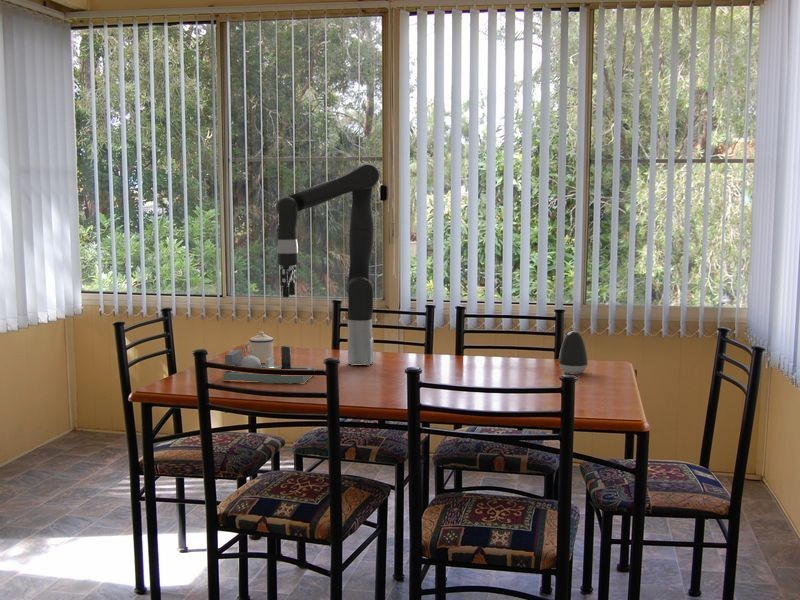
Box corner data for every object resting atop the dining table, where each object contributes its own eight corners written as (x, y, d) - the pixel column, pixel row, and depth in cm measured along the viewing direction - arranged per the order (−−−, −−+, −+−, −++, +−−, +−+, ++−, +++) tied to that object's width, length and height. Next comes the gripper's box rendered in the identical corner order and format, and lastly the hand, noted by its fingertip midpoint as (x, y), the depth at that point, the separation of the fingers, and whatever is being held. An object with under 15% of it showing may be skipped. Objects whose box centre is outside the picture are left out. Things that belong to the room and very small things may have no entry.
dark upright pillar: (293, 376, 291) (292, 345, 290) (288, 380, 285) (287, 348, 283) (270, 375, 292) (270, 344, 291) (265, 379, 286) (264, 347, 285)
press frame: (314, 375, 294) (313, 350, 293) (303, 384, 280) (302, 358, 279) (238, 373, 298) (237, 348, 297) (223, 381, 284) (222, 355, 283)
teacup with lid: (277, 360, 324) (277, 330, 322) (267, 364, 315) (266, 334, 314) (250, 358, 328) (249, 329, 326) (238, 362, 319) (238, 332, 318)
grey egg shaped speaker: (577, 369, 305) (578, 328, 303) (592, 374, 295) (594, 332, 294) (553, 371, 302) (553, 329, 300) (567, 376, 292) (568, 334, 290)
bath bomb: (236, 380, 286) (236, 357, 285) (240, 375, 294) (240, 353, 293) (260, 380, 286) (259, 357, 285) (263, 375, 294) (263, 353, 293)
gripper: (293, 253, 296) (294, 298, 298) (302, 250, 310) (303, 293, 312) (272, 253, 297) (273, 298, 299) (282, 250, 311) (284, 293, 313)
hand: (289, 295), depth 305 cm, fingers open, 8 cm apart
